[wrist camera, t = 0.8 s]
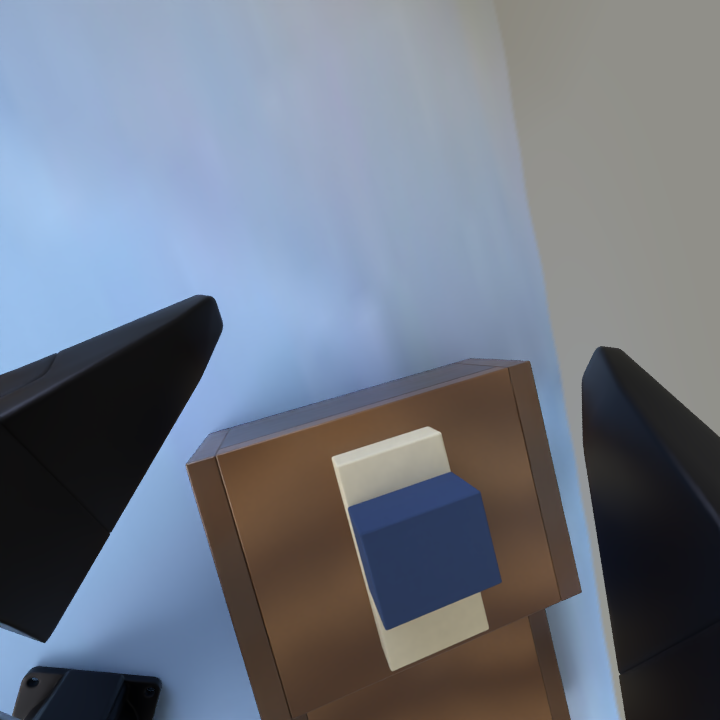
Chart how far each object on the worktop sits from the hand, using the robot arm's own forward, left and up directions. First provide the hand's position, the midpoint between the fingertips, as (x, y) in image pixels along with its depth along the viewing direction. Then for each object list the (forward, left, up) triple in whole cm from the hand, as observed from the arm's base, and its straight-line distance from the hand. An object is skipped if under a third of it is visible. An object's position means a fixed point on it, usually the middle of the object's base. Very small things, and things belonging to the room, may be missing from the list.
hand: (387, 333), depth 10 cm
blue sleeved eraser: (-8, -5, -8) cm, 12 cm away
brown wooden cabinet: (-13, -8, -14) cm, 21 cm away
